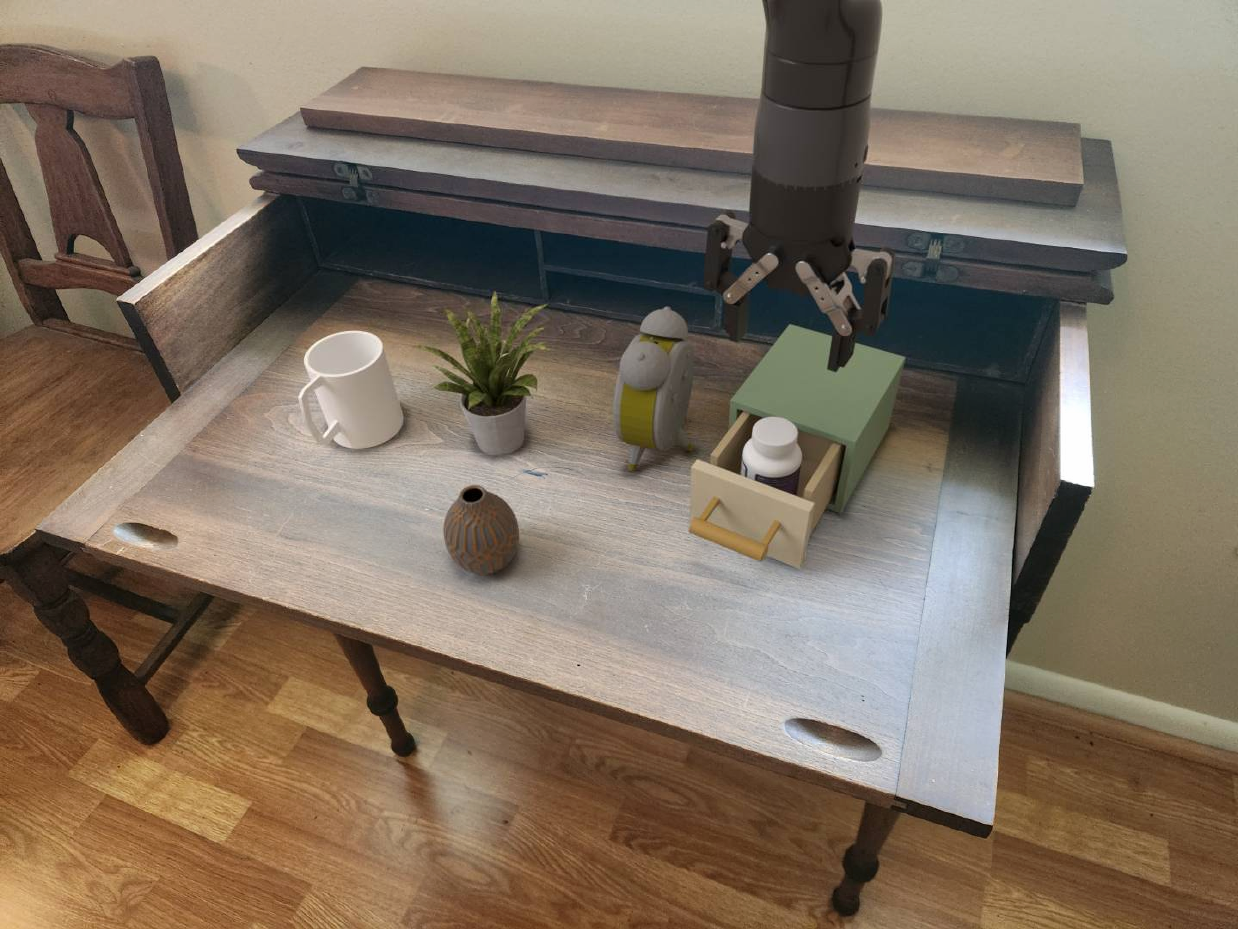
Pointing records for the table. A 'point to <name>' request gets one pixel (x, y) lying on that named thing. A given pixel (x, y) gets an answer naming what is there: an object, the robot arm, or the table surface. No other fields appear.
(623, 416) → the alarm clock
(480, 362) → the house plant
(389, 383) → the cup
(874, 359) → the cabinet
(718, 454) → the drawer
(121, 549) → the table surface
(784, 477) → the pill bottle
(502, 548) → the vase
